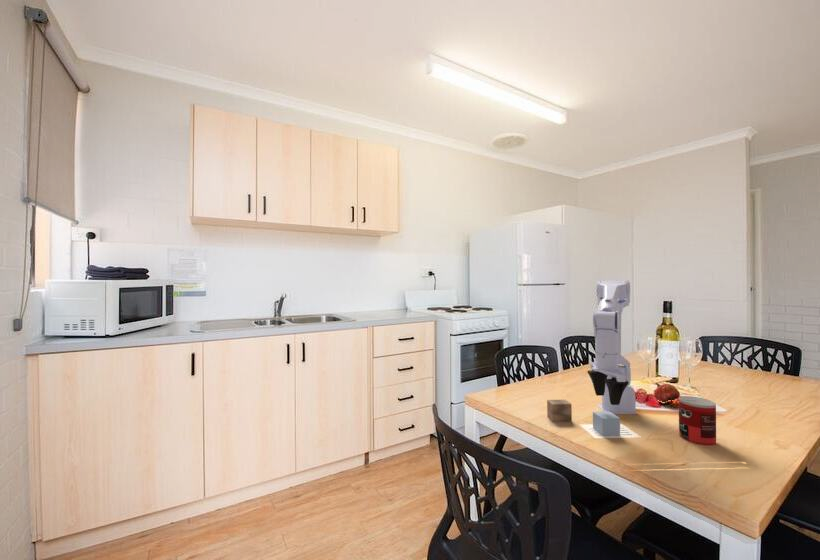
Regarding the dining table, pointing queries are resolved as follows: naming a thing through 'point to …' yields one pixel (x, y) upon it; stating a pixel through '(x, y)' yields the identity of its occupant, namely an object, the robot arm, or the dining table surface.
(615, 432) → the cube
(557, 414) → the walnut block
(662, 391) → the pomegranate
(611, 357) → the robot arm
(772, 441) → the dining table surface
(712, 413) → the canned food
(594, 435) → the letter
